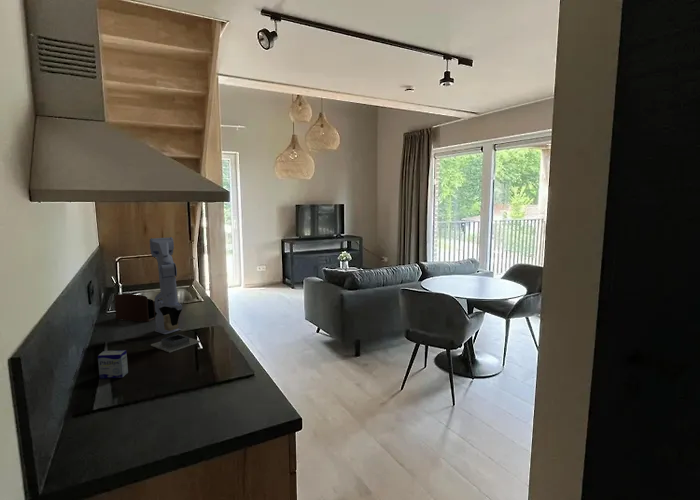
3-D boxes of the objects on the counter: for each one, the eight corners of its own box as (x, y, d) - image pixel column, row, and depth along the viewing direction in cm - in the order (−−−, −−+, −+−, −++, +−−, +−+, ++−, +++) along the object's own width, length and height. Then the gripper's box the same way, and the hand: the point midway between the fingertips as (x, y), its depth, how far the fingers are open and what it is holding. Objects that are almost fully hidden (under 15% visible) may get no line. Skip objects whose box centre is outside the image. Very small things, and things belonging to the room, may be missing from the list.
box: (98, 379, 136) (96, 355, 135) (105, 373, 141) (103, 350, 140) (122, 378, 137) (120, 354, 136) (128, 372, 142) (126, 349, 141)
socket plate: (150, 345, 168) (150, 339, 168) (181, 336, 179) (180, 330, 179) (169, 352, 160) (169, 346, 160) (200, 342, 171) (199, 336, 171)
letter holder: (148, 322, 202) (146, 295, 200) (115, 320, 206) (113, 293, 205) (161, 316, 211) (159, 290, 210) (130, 314, 216) (128, 289, 214)
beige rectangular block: (164, 329, 168) (163, 315, 167) (173, 326, 171) (172, 313, 170) (169, 331, 166) (168, 317, 165) (178, 328, 169) (177, 314, 168)
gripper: (150, 292, 167) (153, 323, 169) (169, 296, 159) (172, 329, 161) (166, 289, 173) (168, 319, 175) (186, 293, 165) (188, 325, 167)
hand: (171, 324), depth 168 cm, fingers closed on beige rectangular block, 4 cm apart
